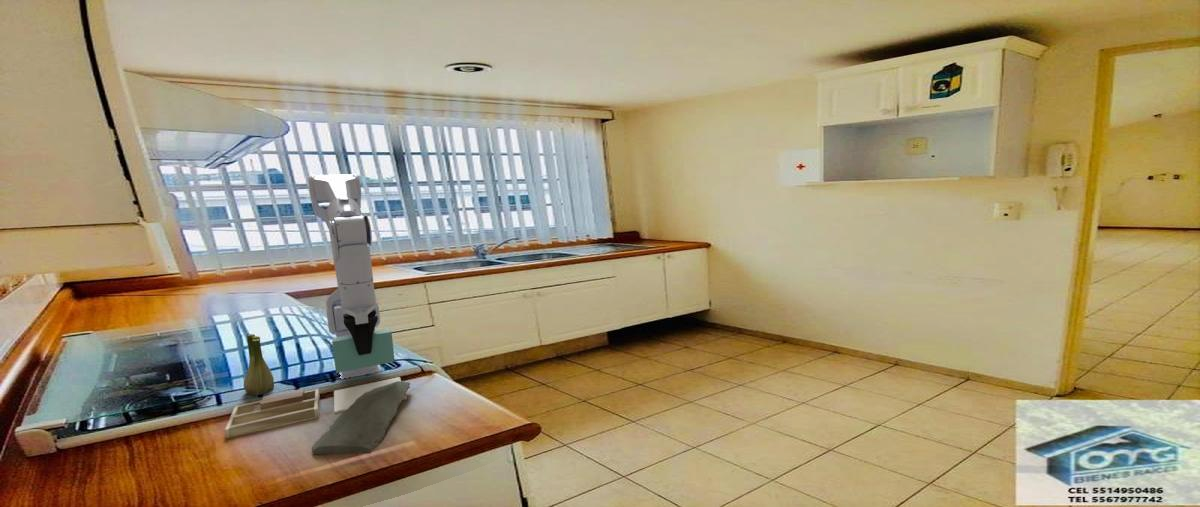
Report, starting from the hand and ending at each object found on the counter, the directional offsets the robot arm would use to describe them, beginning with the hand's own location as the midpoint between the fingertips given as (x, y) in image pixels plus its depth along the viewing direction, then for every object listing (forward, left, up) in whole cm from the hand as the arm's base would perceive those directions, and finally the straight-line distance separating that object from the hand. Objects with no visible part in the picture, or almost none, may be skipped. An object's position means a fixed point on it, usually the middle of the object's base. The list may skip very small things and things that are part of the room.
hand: (364, 351), depth 91 cm
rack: (0, -15, -9) cm, 18 cm away
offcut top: (-2, -14, -8) cm, 16 cm away
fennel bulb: (-14, -19, -9) cm, 26 cm away
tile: (0, 0, -9) cm, 9 cm away
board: (0, 0, -3) cm, 3 cm away
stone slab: (+10, -1, -9) cm, 14 cm away
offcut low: (-2, -15, -9) cm, 17 cm away
